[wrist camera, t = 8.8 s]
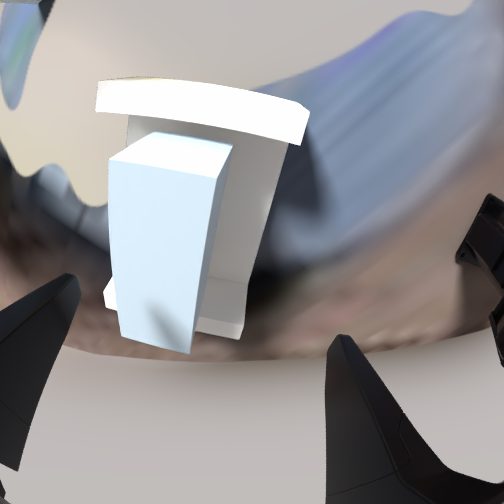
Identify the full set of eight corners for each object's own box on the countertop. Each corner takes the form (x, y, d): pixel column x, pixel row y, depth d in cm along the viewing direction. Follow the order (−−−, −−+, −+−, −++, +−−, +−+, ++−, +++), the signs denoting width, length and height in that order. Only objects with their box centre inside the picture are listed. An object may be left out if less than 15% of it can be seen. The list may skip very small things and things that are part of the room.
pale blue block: (204, 293, 19) (189, 354, 15) (147, 279, 19) (121, 336, 14) (233, 143, 13) (216, 178, 9) (156, 130, 13) (108, 159, 9)
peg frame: (139, 76, 14) (98, 81, 10) (298, 103, 15) (309, 112, 11) (129, 266, 23) (106, 307, 19) (244, 292, 24) (239, 339, 20)
